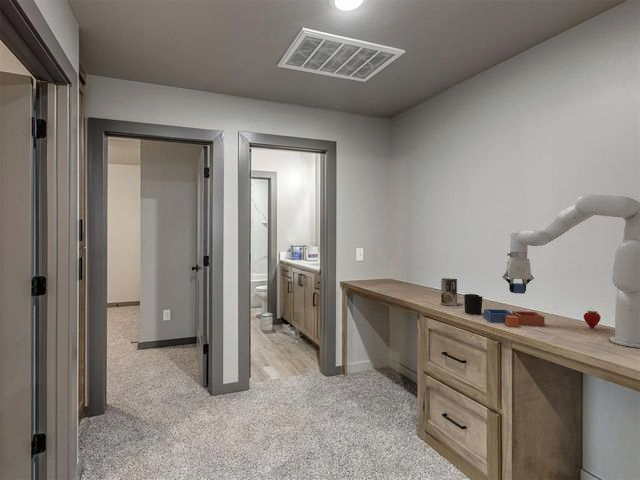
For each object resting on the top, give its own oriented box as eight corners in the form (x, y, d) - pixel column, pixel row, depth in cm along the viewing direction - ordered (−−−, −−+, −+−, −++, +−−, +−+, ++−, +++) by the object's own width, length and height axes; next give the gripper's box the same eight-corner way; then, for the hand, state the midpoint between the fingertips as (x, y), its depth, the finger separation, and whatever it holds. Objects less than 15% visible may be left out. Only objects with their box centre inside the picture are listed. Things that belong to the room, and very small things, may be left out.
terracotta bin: (535, 320, 191) (535, 311, 191) (544, 326, 180) (544, 316, 180) (512, 319, 193) (512, 311, 193) (519, 324, 182) (520, 315, 182)
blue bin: (506, 318, 196) (506, 309, 196) (513, 323, 185) (513, 314, 185) (484, 317, 198) (484, 308, 198) (489, 322, 187) (490, 313, 187)
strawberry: (579, 327, 178) (580, 306, 178) (591, 326, 180) (592, 305, 180) (591, 330, 172) (592, 309, 172) (604, 329, 174) (604, 308, 174)
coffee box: (457, 304, 233) (457, 278, 233) (456, 306, 227) (456, 279, 227) (442, 303, 237) (442, 277, 237) (440, 304, 231) (441, 279, 231)
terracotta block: (515, 324, 182) (515, 315, 182) (518, 327, 178) (518, 317, 178) (505, 324, 183) (505, 315, 183) (508, 326, 179) (508, 317, 178)
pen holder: (483, 312, 209) (483, 295, 209) (480, 315, 201) (480, 297, 201) (466, 310, 215) (466, 293, 214) (462, 313, 207) (462, 295, 207)
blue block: (520, 292, 185) (521, 283, 185) (524, 293, 181) (524, 284, 181) (511, 291, 186) (511, 282, 186) (514, 293, 182) (514, 284, 182)
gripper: (502, 255, 181) (501, 293, 181) (540, 256, 178) (539, 294, 178) (497, 254, 188) (497, 290, 189) (534, 255, 185) (533, 291, 186)
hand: (517, 292), depth 184 cm, fingers closed on blue block, 4 cm apart
